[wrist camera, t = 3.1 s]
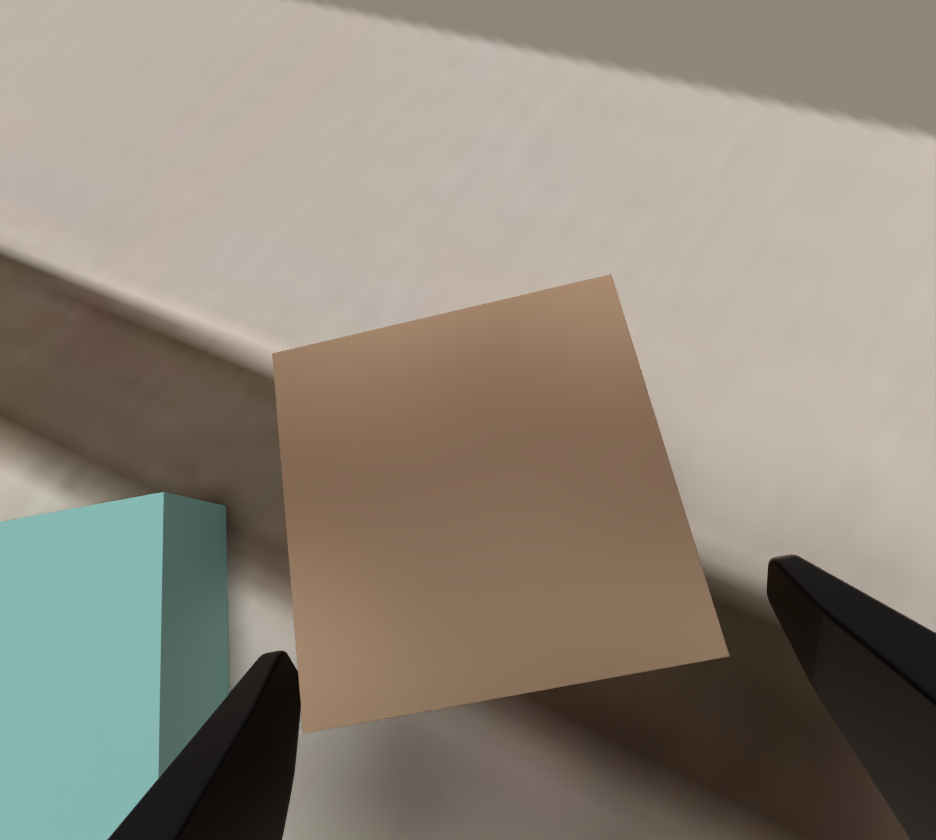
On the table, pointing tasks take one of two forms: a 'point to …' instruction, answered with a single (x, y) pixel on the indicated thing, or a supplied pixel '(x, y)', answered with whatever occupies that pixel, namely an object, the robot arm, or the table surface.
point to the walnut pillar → (482, 511)
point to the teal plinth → (105, 657)
